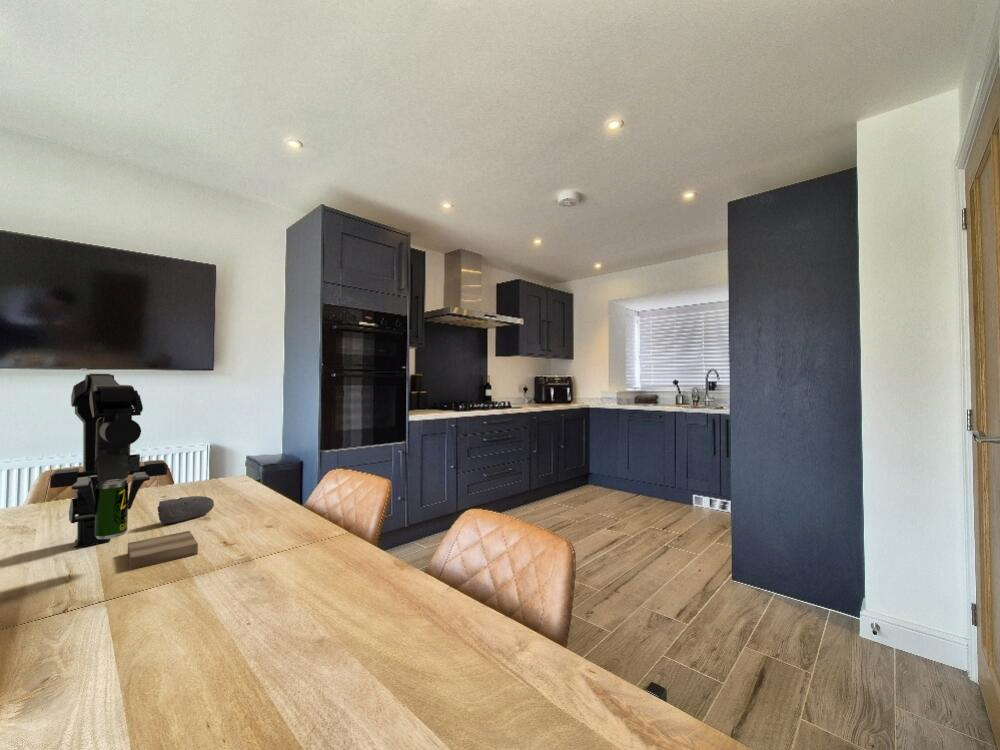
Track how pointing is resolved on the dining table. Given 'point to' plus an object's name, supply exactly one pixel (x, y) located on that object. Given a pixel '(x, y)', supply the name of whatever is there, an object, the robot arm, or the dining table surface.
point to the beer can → (111, 508)
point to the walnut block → (161, 549)
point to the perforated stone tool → (184, 508)
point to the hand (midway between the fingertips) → (111, 511)
